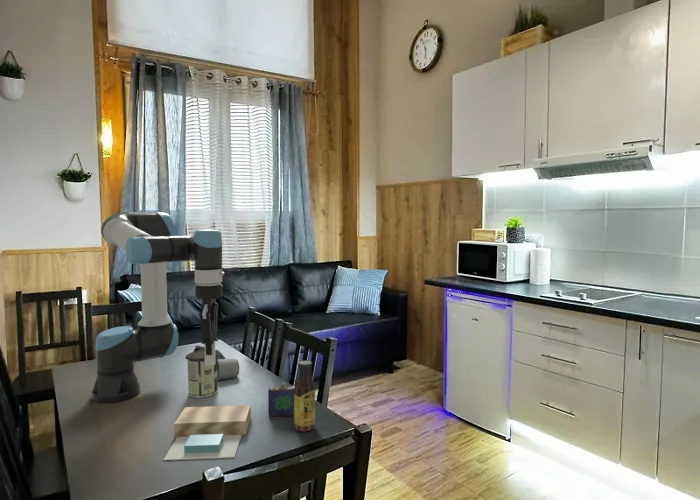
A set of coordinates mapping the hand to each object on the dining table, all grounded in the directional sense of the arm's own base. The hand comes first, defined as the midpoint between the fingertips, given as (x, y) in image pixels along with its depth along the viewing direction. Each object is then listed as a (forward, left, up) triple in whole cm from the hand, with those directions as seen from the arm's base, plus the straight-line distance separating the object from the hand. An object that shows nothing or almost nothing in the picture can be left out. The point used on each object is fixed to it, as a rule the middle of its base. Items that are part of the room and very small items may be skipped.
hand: (210, 364), depth 128 cm
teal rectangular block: (0, -9, -18) cm, 20 cm away
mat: (0, -9, -20) cm, 22 cm away
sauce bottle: (+27, +1, -21) cm, 34 cm away
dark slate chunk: (-17, +68, -21) cm, 74 cm away
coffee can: (-10, +31, -21) cm, 38 cm away
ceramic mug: (-5, +46, -21) cm, 51 cm away
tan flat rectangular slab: (0, +3, -20) cm, 21 cm away
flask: (+20, +10, -21) cm, 30 cm away
